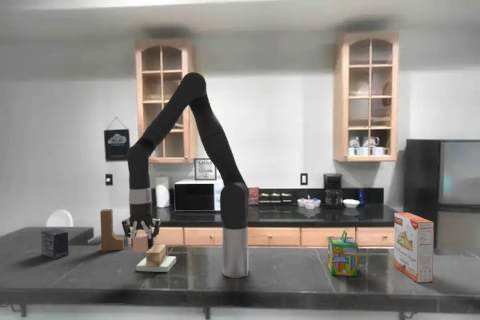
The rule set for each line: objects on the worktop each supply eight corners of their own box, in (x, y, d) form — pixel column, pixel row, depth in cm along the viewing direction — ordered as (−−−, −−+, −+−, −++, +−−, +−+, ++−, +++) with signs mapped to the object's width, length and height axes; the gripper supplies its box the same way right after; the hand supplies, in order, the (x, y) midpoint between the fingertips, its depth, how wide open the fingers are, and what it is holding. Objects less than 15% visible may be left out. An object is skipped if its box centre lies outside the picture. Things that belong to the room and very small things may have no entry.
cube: (152, 247, 109) (151, 233, 109) (146, 252, 104) (146, 237, 104) (138, 247, 109) (138, 233, 109) (133, 252, 104) (132, 238, 104)
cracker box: (392, 266, 114) (393, 212, 113) (408, 266, 114) (409, 211, 113) (415, 283, 100) (417, 221, 99) (433, 283, 100) (435, 221, 99)
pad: (176, 261, 120) (176, 256, 120) (167, 272, 110) (167, 267, 110) (147, 260, 122) (147, 255, 122) (135, 271, 111) (135, 265, 111)
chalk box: (327, 265, 116) (327, 227, 115) (352, 266, 114) (352, 228, 114) (331, 275, 107) (331, 234, 106) (358, 277, 105) (358, 235, 105)
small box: (70, 255, 128) (69, 231, 128) (53, 260, 123) (52, 235, 122) (57, 250, 134) (56, 227, 134) (41, 255, 129) (40, 231, 128)
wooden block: (124, 246, 139) (123, 208, 138) (123, 249, 134) (122, 210, 133) (103, 248, 136) (101, 209, 135) (101, 251, 132) (100, 211, 131)
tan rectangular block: (166, 256, 120) (165, 244, 120) (159, 265, 111) (159, 252, 111) (153, 256, 120) (153, 244, 120) (146, 265, 111) (146, 252, 111)
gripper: (163, 198, 109) (165, 244, 110) (125, 199, 110) (128, 244, 111) (156, 202, 102) (158, 252, 102) (115, 203, 103) (118, 252, 104)
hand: (142, 248), depth 107 cm, fingers closed on cube, 5 cm apart
